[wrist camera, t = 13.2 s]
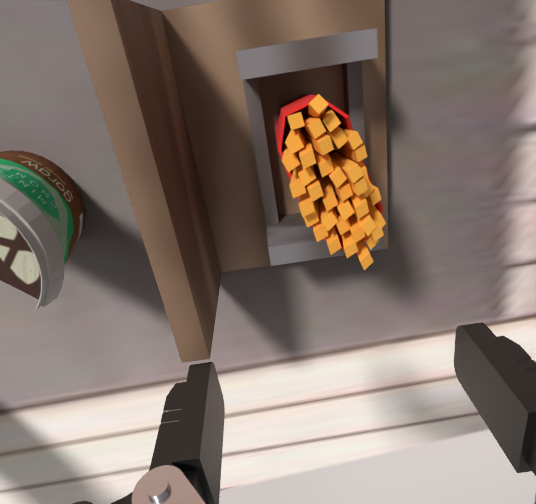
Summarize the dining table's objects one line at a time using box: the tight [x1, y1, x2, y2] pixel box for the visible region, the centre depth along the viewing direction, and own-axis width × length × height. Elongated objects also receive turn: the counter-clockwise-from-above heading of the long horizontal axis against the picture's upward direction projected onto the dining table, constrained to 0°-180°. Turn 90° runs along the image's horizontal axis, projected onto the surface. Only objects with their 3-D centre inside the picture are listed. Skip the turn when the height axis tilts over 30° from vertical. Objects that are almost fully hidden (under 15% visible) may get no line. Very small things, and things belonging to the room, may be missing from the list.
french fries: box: [275, 93, 386, 270], centre depth 25 cm, size 9×4×13 cm, turn 25°
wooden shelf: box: [67, 0, 388, 362], centre depth 27 cm, size 17×20×12 cm
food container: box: [0, 151, 85, 310], centre depth 29 cm, size 12×6×10 cm, turn 53°
